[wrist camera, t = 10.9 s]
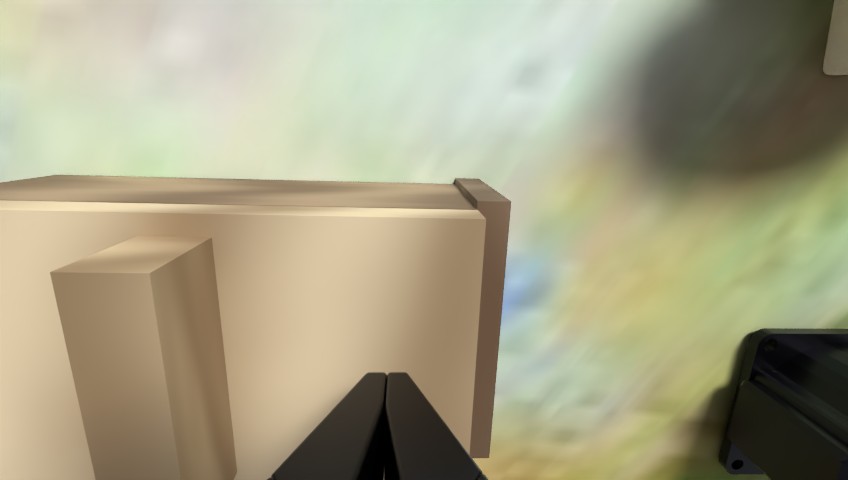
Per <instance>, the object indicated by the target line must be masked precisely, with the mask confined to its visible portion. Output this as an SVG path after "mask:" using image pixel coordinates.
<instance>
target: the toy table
mask: <svg viewBox="0 0 848 480" xmlns="http://www.w3.org/2000/svg"><path fill="white" fill-rule="evenodd" d="M823 71H824V73H825V74H827V75H848V0H834V4H833V11H832V17H831V23H830V29H829V35H828V40H827V47H826V52H825V57H824V63H823Z"/></svg>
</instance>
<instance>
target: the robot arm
mask: <svg viewBox="0 0 848 480" xmlns="http://www.w3.org/2000/svg"><path fill="white" fill-rule="evenodd" d="M767 341H768V342H767ZM766 342H767V343H766ZM765 343H766V344H765ZM719 463H720V464H721V465H722V466H723V468H724V469H725V470H726V471H727V472H729V473H730V474H765V475H766V476H767V477H768V478H769V479H771V480H848V329H760V330H758V331H756V332H755V333H754V334H753V335H752V336H751V338H750V341H749V344H748V348H747V352H746V356H745V360H744V363H743V367H742V371H741V375H740V379H739V382H738V386H737V390H736V394H735V398H734V402H733V405H732V409H731V413H730V417H729V421H728V424H727V428H726V432H725V436H724V440H723V443H722V447H721V451H720V455H719ZM267 480H488V479H487V477H486V476H485V475H483V474H482V471H481V470H480V468H479V467H478V466H477V464H476V463H475V462H474V460H473V459H472V458H471V456H470V455H469V454H468V452H467V451H466V450H465V448H464V447H463V446H462V445H461V443H460V442H459V441H458V439H457V438H456V437H455V435H454V434H453V433H452V431H451V430H450V429H449V427H448V426H447V425H446V423H445V422H444V421H443V419H442V418H441V417H440V415H439V414H438V413H437V411H436V410H435V409H434V407H433V406H432V405H431V403H430V402H429V401H428V400H427V398H426V397H425V396H424V394H423V393H422V392H421V390H420V389H419V388H418V386H417V385H416V384H415V382H414V381H413V380H412V378H411V377H410V376H409V374H408V373H406V372H390V373H388V375H386V373H384V372H368V373H366V374H365V375H364V376H363V377H362V378H361V379H360V380H359V382H358V383H357V384H356V385H355V386H354V387H353V388H352V389H351V390H350V391H349V392H348V393H347V394H346V395H345V397H344V398H343V399H342V400H341V401H340V402H339V403H338V404H337V405H336V406H335V407H334V408H333V409H332V411H331V412H330V413H329V414H328V415H327V416H326V417H325V418H324V419H323V420H322V421H321V422H320V423H319V424H318V426H317V427H316V428H315V429H314V430H313V431H312V432H311V433H310V434H309V435H308V436H307V437H306V438H305V439H304V441H303V442H302V443H301V444H300V445H299V446H298V447H297V448H296V449H295V450H294V451H293V452H292V453H291V455H290V456H289V457H288V458H287V459H286V460H285V461H284V462H283V463H282V464H281V465H280V466H279V467H278V468H277V470H276V471H275V472H274V473H273V474H272V475H271V478H268V479H267Z"/></svg>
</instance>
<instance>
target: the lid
mask: <svg viewBox="0 0 848 480" xmlns="http://www.w3.org/2000/svg"><path fill="white" fill-rule="evenodd" d="M485 228H486V218H485V217H484V216H483V215H482V214H481V213H480V212H479V211H478V210H454V209H405V208H355V207H306V206H256V205H207V204H157V203H108V202H58V201H9V200H0V480H267V479H268V478H271V475H272V474H273V473H274V472H275V471H276V470H277V468H278V467H279V466H280V465H281V464H282V463H283V462H284V461H285V460H286V459H287V458H288V457H289V456H290V455H291V453H292V452H293V451H294V450H295V449H296V448H297V447H298V446H299V445H300V444H301V443H302V442H303V441H304V439H305V438H306V437H307V436H308V435H309V434H310V433H311V432H312V431H313V430H314V429H315V428H316V427H317V426H318V424H319V423H320V422H321V421H322V420H323V419H324V418H325V417H326V416H327V415H328V414H329V413H330V412H331V411H332V409H333V408H334V407H335V406H336V405H337V404H338V403H339V402H340V401H341V400H342V399H343V398H344V397H345V395H346V394H347V393H348V392H349V391H350V390H351V389H352V388H353V387H354V386H355V385H356V384H357V383H358V382H359V380H360V379H361V378H362V377H363V376H364V375H365V374H366V373H368V372H384V373H386V375H388V373H390V372H406V373H408V374H409V376H410V377H411V378H412V380H413V381H414V382H415V384H416V385H417V386H418V388H419V389H420V390H421V392H422V393H423V394H424V396H425V397H426V398H427V400H428V401H429V402H430V403H431V405H432V406H433V407H434V409H435V410H436V411H437V413H438V414H439V415H440V417H441V418H442V419H443V421H444V422H445V423H446V425H447V426H448V427H449V429H450V430H451V431H452V433H453V434H454V435H455V437H456V438H457V439H458V441H459V442H460V443H461V445H462V446H463V447H464V448H465V450H466V451H467V452H468V454H470V440H471V426H472V411H473V397H474V383H475V369H476V355H477V341H478V327H479V312H480V298H481V284H482V270H483V256H484V242H485Z"/></svg>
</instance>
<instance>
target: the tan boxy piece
mask: <svg viewBox="0 0 848 480" xmlns="http://www.w3.org/2000/svg"><path fill="white" fill-rule="evenodd" d="M0 200H9V201H58V202H108V203H157V204H207V205H256V206H306V207H355V208H405V209H454V210H478V211H479V212H480V213H481V214H482V215H483V216H484V217H485V218H486V228H485V242H484V256H483V270H482V284H481V298H480V312H479V327H478V341H477V355H476V369H475V383H474V397H473V411H472V426H471V440H470V454H469V455H470V456H471V458H489V452H490V441H491V429H492V418H493V406H494V394H495V383H496V371H497V359H498V348H499V336H500V325H501V313H502V301H503V290H504V278H505V266H506V255H507V243H508V232H509V220H510V208H511V201H510V200H508V199H507V198H505V197H504V196H502V195H501V194H500V193H498V192H497V191H495V190H494V189H492V188H491V187H490V186H488V185H487V184H485V183H484V182H482V181H481V180H480V179H459V178H455V184H421V183H378V182H336V181H293V180H251V179H208V178H165V177H123V176H80V175H52V176H45V177H38V178H31V179H24V180H17V181H10V182H2V183H0Z"/></svg>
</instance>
